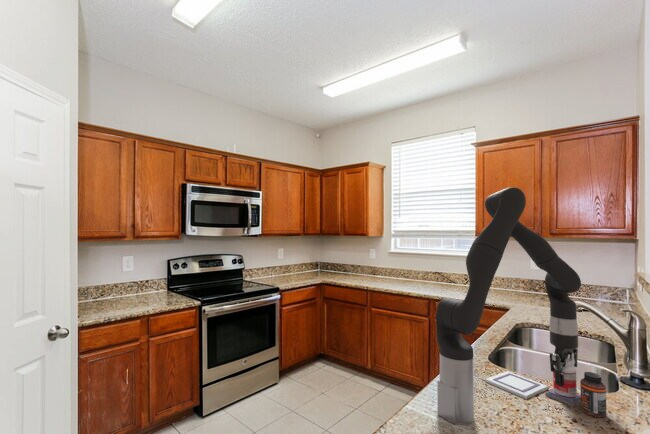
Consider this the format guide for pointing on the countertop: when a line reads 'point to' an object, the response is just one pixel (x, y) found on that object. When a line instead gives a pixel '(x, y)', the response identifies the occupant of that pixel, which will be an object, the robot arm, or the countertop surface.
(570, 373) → the pill bottle
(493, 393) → the countertop surface
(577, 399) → the ink pad
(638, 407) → the countertop surface
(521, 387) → the board
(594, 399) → the supplement bottle
